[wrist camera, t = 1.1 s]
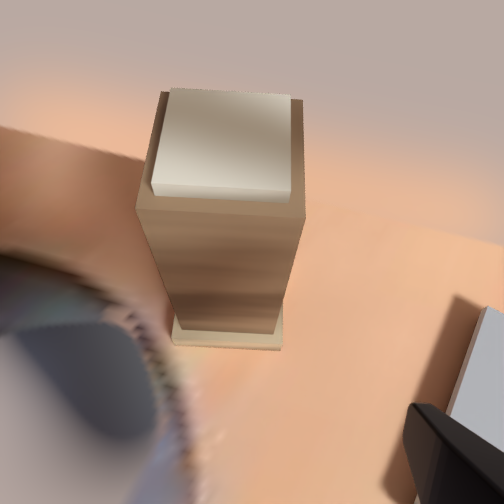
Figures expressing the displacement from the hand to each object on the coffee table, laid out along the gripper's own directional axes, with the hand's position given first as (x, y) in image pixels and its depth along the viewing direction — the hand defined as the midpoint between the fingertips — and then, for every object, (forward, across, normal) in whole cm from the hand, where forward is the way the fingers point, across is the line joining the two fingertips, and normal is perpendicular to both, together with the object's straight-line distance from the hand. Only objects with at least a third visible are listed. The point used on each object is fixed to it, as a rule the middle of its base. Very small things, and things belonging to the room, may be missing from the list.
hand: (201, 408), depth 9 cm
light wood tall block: (+15, 0, +4) cm, 16 cm away
